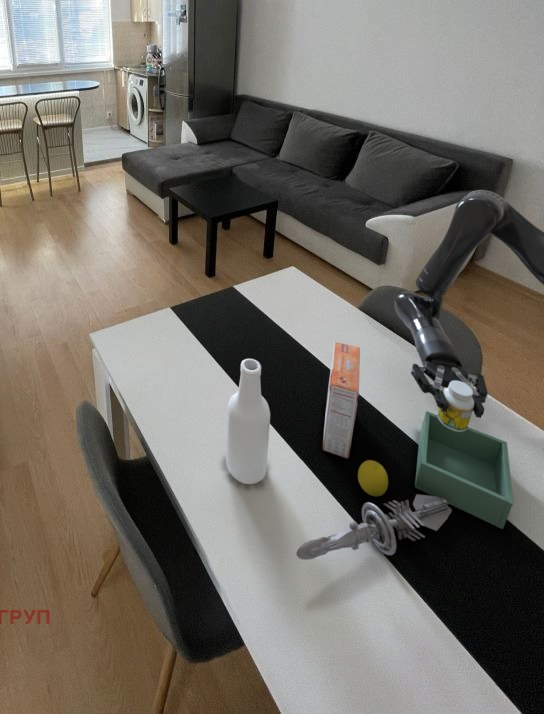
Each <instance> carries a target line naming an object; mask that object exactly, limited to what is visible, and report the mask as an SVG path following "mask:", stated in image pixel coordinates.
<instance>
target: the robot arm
mask: <svg viewBox="0 0 544 714" xmlns="http://www.w3.org/2000/svg"><path fill="white" fill-rule="evenodd" d="M489 235H492V236H493V237H495V238H497V239H498V240H499V241H500V242H502V243H503V244H504V245H505V246H507V247H508V248H509V249H510V250H511V251H512V253H513V254H514V255H515V256H516V257H517V258H518V259H519V261H520V262H521V263H522V264H523V266H524V267H525V268H526V270H527V271H528V272H529V273H530V274H531V275H532V276H533V277H534V278H535V279H536V280H537V281H539V283H541V284H542V285H543V286H544V231H543V230H542V229H541V228H539V227H538V226H536V225H535V224H534V223H532V222H531V221H529V220H528V218H527V217H525V216H524V215H523V214H522V213H520V212H519V211H518V210H517V209H516V208H514V206H513V205H511V204H510V203H509V202H508V201H507V200H505V198H503V197H502V196H501V195H499V194H498V193H496V192H493V191H491V190H485V189H476V190H473V191H470V192H468V193H467V194H466V195H464V196H463V197H462V199H460V200H459V201H458V202H457V203H456V206H455V208H454V212H453V215H452V217H451V222H450V224H449V227H448V229H447V231H446V233H445V236H444V237H443V240H442V241H441V242H440V245H438V247H437V249H436V250H435V251H434V253H433V254H432V255H431V257H430V258H429V260H428V261H427V262H426V264H425V265H424V267H423V268H422V270H421V271H420V273H419V275H418V276H417V278H416V280H415V286H416V288H417V289H418V290H419V291H420V292H421V293H422V294H424V295H421V294H418V293H415V292H412V291H407V290H405V291H404V290H403V291H400V292H399V293H398V294H396V295H395V297H394V301H393V304H394V305H393V306H394V310H395V312H396V314H397V315H398V318H399V319H400V320H401V321H402V322H403V324H404V325H405V327H407V329H409V330H410V333H411V335H412V338H413V340H414V345H415V348H416V352H417V354H418V356H419V359H420V362H421V364H422V366H420V365H419V364H417V363H413V364H412V365H411V366H412V367H411V371H410V374H411V376H412V377H413V379H414V380H415V382H416V384H417V386H418V388H419V389H420V391H421V392H422V393H424V394H430V395H432V396H433V398H434V402H435V404H436V406H437V407H438V409H439V408H441V410H442V411H445V412H447V408H448V403H447V400H446V398H445V396H444V393H443V391H444V390H442V389H441V388H444V389H446V388H448V386H449V384H450V382H451V381H461V382H463V383H465V384H467V385H468V386H470V387H471V389H472V390H473V395H472V398H473V400H474V408H473V411H472V413H474V416H475V417H476V418H478V419H481V418H482V416H484V413H485V406H484V405H483V404H485V403H486V399H487V397H488V394H489V392H488V389H487V385H486V381H485V378H484V375H483V374H481V373H476V375H473V374H470V373H469V372H468V371H467V370H466V369H464V368H463V365H462V361H461V360H460V357H459V356H458V354H457V352H456V351H457V350H456V349H455V348H454V346H453V344H452V342H451V339H450V338H449V337H448V336H447V334H446V331H445V330H444V327H443V325H442V324H441V322H440V321H439V319H440V317H441V313H442V309H443V304H444V300H445V299H446V298H445V297H446V295H447V292H448V291H449V290H450V288H451V287H452V286H453V284H454V283H455V281H456V280H457V278H458V276H459V275H460V273H461V271H462V270H463V267H464V266H465V264H466V262H467V260H468V259H469V257H470V256H471V255H472V253H473V252H474V250H475V249H476V248H477V247H478V246H479V245H480V244H481V243H482V242H483V241H484V240H485V239H486V238H487V237H488V236H489ZM427 377H428V378H429V379H431V380H432V381H433V384H432V383H431V382H430V381H429V379H428V378H427Z"/></svg>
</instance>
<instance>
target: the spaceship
mask: <svg viewBox="0 0 544 714" xmlns="http://www.w3.org/2000/svg"><path fill="white" fill-rule="evenodd" d="M387 503H388V504H387ZM449 505H451V504H450V503H447V500H446V499H445V498H438V497H437V496H432V495H428V494H427V495H426V494H415V498H414V500H413V502H412V506H413V508H414V509H415V510H414V511H412V510H411V508H410V502H409V500H408V499H406V500H405V501H403V500H402V501H400V502H398V501H397V500H392V502H391V501H388V502H386V503H383V506H385V507H387V508H388V509H390V510H391V511H392V512H393V513H394V514H393V513H392V512H388V514H387V513H384V512H383V511H382V510H381V509H380V508H379V507H378V506H377V505H376V504H375V503H372V502H369V501H368V502H365V503H363V505H362V508H361V517H362V522H360V523H359V524H358V523H357V522H356V521H352V522H350V523H349V526H348V527H347V528H345V529H343V530H342V531H340V532H338V533H335V534H332V535H328V536H321V537H318V538H315V539H312V540H309V541H307V542H305V543H303V544H301V546H299V547H298V548H297V550H296V554H295V555H296V557H297V558H298V559H300V560H304V561H305V560H306V561H307V560H314V559H316V558H318V557H321V556H325V555H326V554H327V553H329V552H332V551H333V552H334V551H337V550H341V549H349V548H351V549H352V551H357V550H359V548H360V545H361V544H364V543H367V544H369V543H370V542H371V541H372V543H373V544H374V546H375V547H376V548H377V549H378V550H379V551H380V552H381V553H382V554H384V555H386V556H393V555H394V554H395V553H396V551H397V539H396V535H395V529H396V531H397V537H398V540H399V541H402V539H407V538H408V539H410V540H411V541H413V542H415V541H416V540H421V537H422V538H426V536H425V535H424V534H423V533H421V532H420V531H419V530H417V529H416V528H420V525H421V526H422V527H426V528H428V529H431V530H433V531H435V532H437V531H438V530H439V529H440V528H441V527H442V525H443V524H444V523H445V522H446V521H447V520H448V518H449V516H450V515H451V514H452V512H453V510H452V508H451V507H449ZM417 522H418V523H417ZM413 525H414V526H415V527H416V528H415V527H414V526H413ZM394 528H395V529H394ZM412 536H413V537H412Z"/></svg>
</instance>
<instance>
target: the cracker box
mask: <svg viewBox="0 0 544 714" xmlns="http://www.w3.org/2000/svg"><path fill="white" fill-rule="evenodd" d="M331 357H332V358H331V363H330V364H331V365H330V372H329V379H328V386H327V387H328V388H327V397H326V406H325V414H324V415H325V416H324V424H323V425H324V426H323V438H322V439H323V440H322V451H324V452H327V453H329V454H332V455H335V456H338V457H341V458H344V459H347V460H349V458H350V452H351V446H352V439H353V432H354V426H355V421H356V415H357V408H358V402H359V397H360V371H361V370H360V369H361V366H360V365H361V364H360V363H361V347H359V346H354V345H350V344H346V343H342V342H338V341H334V343H333V351H332V356H331Z"/></svg>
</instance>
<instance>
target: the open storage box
mask: <svg viewBox="0 0 544 714" xmlns="http://www.w3.org/2000/svg"><path fill="white" fill-rule="evenodd" d="M418 439H419V441H418V448H417V449H418V450H417V459H416V460H417V462H416V472H415V480H414V488H415V489H417V490H419V491H421V492H423V493H426V494H427V495H429V496H437V497H438V498H445V499H446V500H447V503H450V504H449V505H451V506H453V507H455V508H457V509H459V510H461V511H463V512H465V513H468V514H469V515H472V516H474V517H476V518H478V519H480V520H482V521H485V522H487V523H488V524H491V525H493V526H495V527H497V528H498V529H501V530H503V529H504V527H505V525H506V523H507V520H508V518H509V515H510V513H511V511H512V509H513V505H514V499H513V490H512V479H511V470H510V460H509V448H508V442H507V441H505V440H502V439H500V438H497V437H495V436H492V435H489V434H487V433H484V432H482V431H479V430H476V429H474V428H471V427H469V426H468V428H467V429H466V430H465V431H463V432H456V431H453V430H451V429H449V428H447V427H445V426H444V425H443V424H442V423H441V422H440V421H439V419H438V414H436V413H433V412H430V411H428V410H425V413H424V417H423V421H422V425H421V428H420V432H419V438H418Z"/></svg>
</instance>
